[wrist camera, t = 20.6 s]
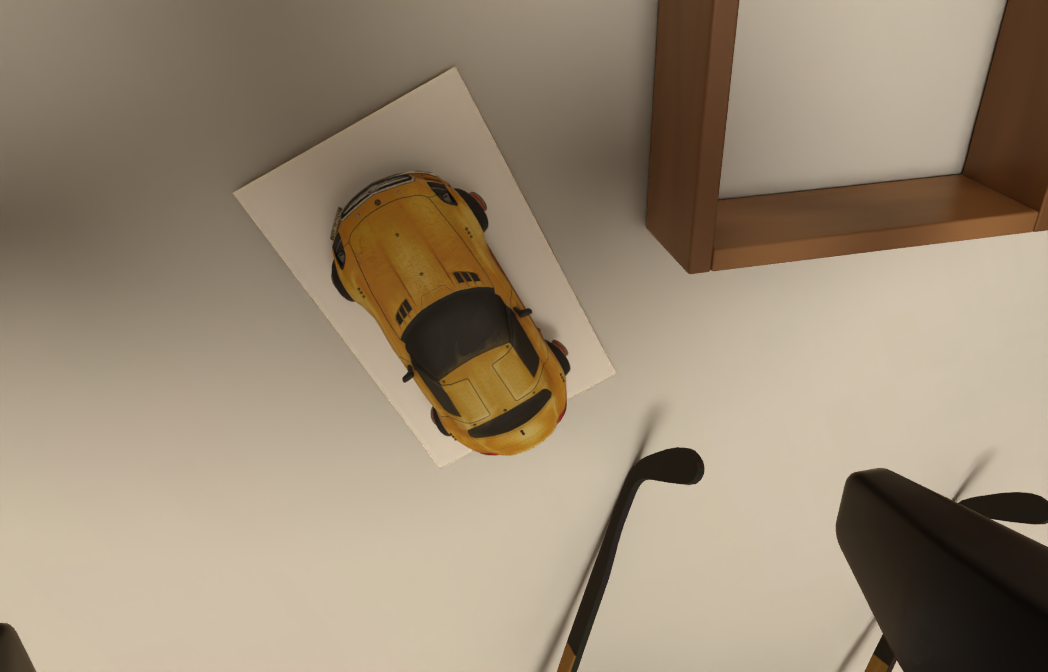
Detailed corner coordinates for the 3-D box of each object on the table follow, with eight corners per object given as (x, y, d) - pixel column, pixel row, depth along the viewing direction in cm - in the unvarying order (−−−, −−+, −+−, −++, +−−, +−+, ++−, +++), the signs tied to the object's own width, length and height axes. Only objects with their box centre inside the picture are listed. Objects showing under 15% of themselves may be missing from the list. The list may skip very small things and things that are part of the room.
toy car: (445, 132, 19) (462, 163, 17) (587, 385, 24) (612, 434, 22) (292, 218, 19) (290, 259, 17) (462, 453, 24) (476, 508, 22)
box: (645, 227, 22) (688, 275, 20) (671, -230, 17) (735, -245, 14) (975, 191, 24) (1053, 230, 21) (1089, -231, 19) (1211, -245, 16)
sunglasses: (700, 465, 23) (633, 386, 27) (548, 860, 27) (512, 738, 32) (1062, 510, 27) (953, 436, 32) (878, 841, 32) (806, 736, 36)
